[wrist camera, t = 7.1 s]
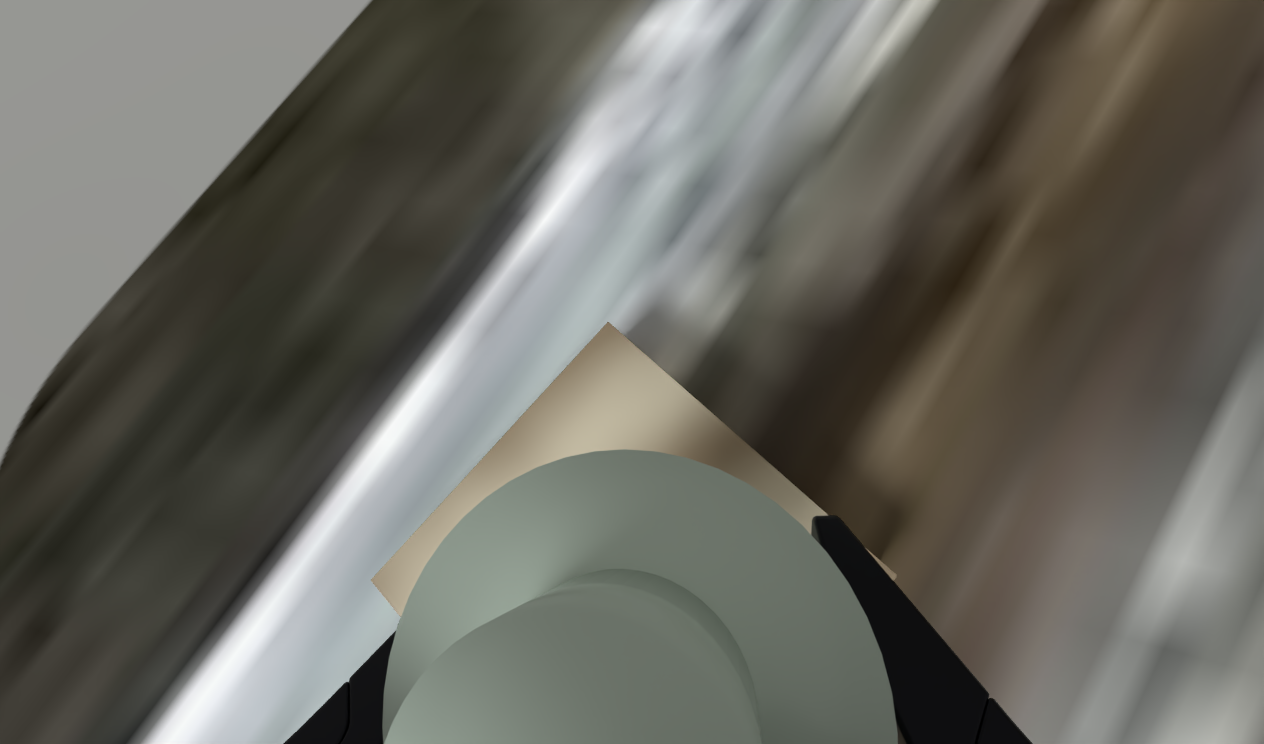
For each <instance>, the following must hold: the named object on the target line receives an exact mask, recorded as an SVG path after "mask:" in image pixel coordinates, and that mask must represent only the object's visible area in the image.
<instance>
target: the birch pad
mask: <svg viewBox="0 0 1264 744" xmlns="http://www.w3.org/2000/svg"><path fill="white" fill-rule="evenodd" d="M623 449H628V450H642V451H656V452H661V453H666V454H671V455H676V456H681V457H686V458H689V459H692V460H695V461H698V462H701V463H703V464H706V465H709V466H712V467H715V468H718V469H720V470H722V471H724V472H726V473H728V474H730V475H732V476H734V477H736V478H738V479H740V480H742V481H744V482H746V483H748V484H749V485H751V486H752V487H754V488H755V489H757V490H758V491H760V492H761V493H763V494H764V495H766V496H767V497H769V498H770V499H772V500H773V501H775V502H776V503H777V504H778V505H780V506H781V507H782V508H783V509H784V510H785V511H786V512H788V513H789V514H790V515H791V516H792V517H793V518H795V519H796V520H797V521H798V522H799V523H800V524H802V525H803V526H804V528H805V529H806V530H807V531H808V532H809V533H810V534H811V526H812V519H813V517H815V516H826V515H828V514H827V513H825V512H824V511H823V510H822V509H821V508H820V507H819V506H817V505H816V504H815V503H814V502H813V501H812V500H811V499H809V498H808V497H807V496H806V495H805V494H804V493H803V492H801V491H800V490H799V489H798V488H797V487H796V486H795V485H794V484H792V483H791V482H790V481H789V480H788V479H787V478H786V477H784V476H783V475H782V474H781V473H780V472H779V471H778V470H776V469H775V468H774V467H773V466H772V465H771V464H770V463H768V462H767V461H766V460H765V459H764V458H763V457H762V456H760V455H759V454H758V453H757V452H756V451H755V450H754V449H753V448H751V447H750V446H749V445H748V444H747V443H746V442H745V441H743V440H742V439H741V438H740V437H739V436H738V435H737V434H735V433H734V432H733V431H732V430H731V429H730V428H729V427H727V426H726V425H725V424H724V423H723V422H722V421H721V420H719V419H718V418H717V417H716V416H715V415H714V414H713V413H712V412H710V411H709V410H708V409H707V408H706V407H705V406H704V405H702V404H701V403H700V402H699V401H698V400H697V399H696V398H694V397H693V396H692V395H691V394H690V393H689V392H688V391H686V390H685V389H684V388H683V387H682V386H681V385H680V384H678V383H677V382H676V381H675V380H674V379H673V378H672V377H671V376H669V375H668V374H667V373H666V372H665V371H664V370H663V369H661V368H660V367H659V366H658V365H657V364H656V363H655V362H653V361H652V360H651V359H650V358H649V357H648V356H647V355H645V354H644V353H643V352H642V351H641V350H640V349H639V348H637V347H636V346H635V345H634V344H633V343H632V342H631V341H630V340H628V339H627V338H626V337H625V336H624V335H623V334H622V333H620V332H619V331H618V330H617V329H616V328H615V327H614V326H612V325H611V324H610V323H609V322H607V324H606V325H605V326H604V327H603V328H602V329H601V330H600V331H599V332H598V333H597V334H596V335H595V337H594V338H593V339H592V340H591V341H590V342H589V343H588V344H587V345H586V346H585V347H584V349H583V350H582V351H581V352H580V353H579V354H578V355H577V356H576V357H575V358H574V359H573V361H572V362H571V363H570V364H569V365H568V366H567V367H566V368H565V369H564V370H563V371H562V372H561V374H560V375H559V376H558V377H557V378H556V379H555V380H554V381H553V382H552V383H551V384H550V386H549V387H548V388H547V389H546V390H545V391H544V392H543V393H542V394H541V395H540V396H539V398H538V399H537V400H536V401H535V402H534V403H533V404H532V405H531V406H530V407H529V408H528V409H527V411H526V412H525V413H524V414H523V415H522V416H521V417H520V418H519V419H518V420H517V421H516V423H515V424H514V425H513V426H512V427H511V428H510V429H509V430H508V431H507V432H506V433H505V435H504V436H503V437H502V438H501V439H500V440H499V441H498V442H497V443H496V444H495V445H494V446H493V448H492V449H491V450H490V451H489V452H488V453H487V454H486V455H485V456H484V457H483V458H482V460H481V461H480V462H479V463H478V464H477V465H476V466H475V467H474V468H473V469H472V470H471V472H470V473H469V474H468V475H467V476H466V477H465V478H464V479H463V480H462V481H461V482H460V483H459V485H458V486H457V487H456V488H455V489H454V490H453V491H452V492H451V493H450V494H449V495H448V497H447V498H446V499H445V500H444V501H443V502H442V503H441V504H440V505H439V506H438V507H437V509H436V510H435V511H434V512H433V513H432V514H431V515H430V516H429V517H428V518H427V519H426V520H425V522H424V523H423V524H422V525H421V526H420V527H419V528H418V529H417V530H416V531H415V532H414V534H413V535H412V536H411V537H410V538H409V539H408V540H407V541H406V542H405V543H404V544H403V546H402V547H401V548H400V549H399V550H398V551H397V552H396V553H395V554H394V555H393V556H392V557H391V559H390V560H389V561H388V562H387V563H386V564H385V565H384V566H383V567H382V568H381V569H380V571H379V572H378V573H377V574H376V575H375V576H374V577H373V578H372V579H371V581H372V582H373V584H374V585H375V586H376V587H377V589H378V590H379V591H380V592H381V593H382V595H383V596H384V597H385V598H386V600H387V601H388V602H389V603H390V605H391V606H392V607H393V608H394V610H395V611H396V612H397V613H398V614H399V616H400V617H401V616H402V613H403V611H404V608H405V605H406V603H407V600H408V598H409V595H410V593H411V591H412V589H413V588H414V586H415V584H416V582H417V580H418V578H419V576H420V574H421V572H422V571H423V569H424V567H425V565H426V564H427V562H428V561H429V559H430V558H431V557H432V555H433V554H434V552H435V551H436V549H437V548H438V546H439V545H440V544H441V542H442V541H443V539H444V538H445V537H446V536H447V535H448V534H449V533H450V532H451V530H452V529H453V528H454V527H455V526H456V525H457V524H458V523H459V521H460V520H461V519H462V518H463V517H464V516H465V515H466V514H467V513H469V512H470V511H471V510H472V509H473V508H474V507H475V506H477V505H478V504H479V503H480V502H481V501H482V500H483V499H485V498H486V497H487V496H489V495H490V494H491V493H493V492H494V491H496V490H497V489H499V488H500V487H502V486H503V485H505V484H506V483H508V482H509V481H511V480H513V479H515V478H517V477H519V476H521V475H523V474H525V473H527V472H529V471H531V470H533V469H535V468H537V467H539V466H542V465H545V464H548V463H551V462H553V461H556V460H559V459H562V458H565V457H569V456H574V455H579V454H584V453H589V452H594V451H607V450H623ZM867 550H868V549H867ZM868 552H869V553H870V554H871V555H872V556H873V557H874V559H875V560H876V561H877V562H878V563H879V565H880V566H881V567H882V568H883V569H884V570H885V572H886V573H887V574H888V575H889V576H890V577H891V579H892V580H894V579H895V578H896V577H897V575H896V574H895V573H894V572H893V571H891V570H890V569H889V568H888V567H887V566H886V565H885V564H883V563H882V562H881V561H880V560H879V559H878V558H877V557H876V556H874V555H873V554H872V553H871V552H870V551H869V550H868Z"/></svg>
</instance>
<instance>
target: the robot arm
mask: <svg viewBox="0 0 1264 744" xmlns="http://www.w3.org/2000/svg"><path fill="white" fill-rule="evenodd" d="M811 535H812V536H813V538H814V539H815V540H816V541H817V542H818V543H819V544H820V545H821V546H822V547H823V549H824V550H825V551H826V552H827V553H828V555H829V556H830V557H831V559H832V560H833V562H834V563H835V564H836V566H837V567H838V569H839V570H840V571H841V573H842V574H843V576H844V577H845V579H846V580H847V581H848V583H849V585H850V586H851V588H852V590H853V592H854V594H855V596H856V597H857V599H858V601H859V603H860V605H861V607H862V609H863V610H864V612H865V614H866V616H867V618H868V621H869V623H870V626H871V628H872V631H873V633H874V636H875V638H876V641H877V643H878V646H879V648H880V651H881V653H882V657H883V661H884V664H885V668H886V672H887V676H888V680H889V683H890V687H891V691H892V696H893V704H894V711H895V718H896V725H897V733H898V744H1032V742H1031V741H1030V740H1029V739H1028V738H1027V737H1026V736H1025V735H1024V733H1023V732H1022V731H1021V730H1020V729H1019V728H1018V727H1017V726H1016V724H1015V723H1014V722H1013V721H1012V720H1011V719H1010V717H1009V716H1008V715H1007V714H1006V713H1005V711H1004V710H1003V709H1002V708H1001V707H1000V706H999V704H998V703H997V702H996V701H995V700H994V699H993V698H989V693H988V692H987V691H986V689H985V688H984V687H983V686H982V685H981V683H980V682H979V681H978V680H977V679H976V678H975V676H974V675H973V674H972V673H971V672H970V671H969V669H968V668H967V667H966V666H965V665H964V663H963V662H962V661H961V660H960V659H959V658H958V656H957V655H956V654H955V653H954V652H953V650H952V649H951V648H950V647H949V646H948V645H947V643H946V642H945V641H944V640H943V639H942V638H941V636H940V635H939V634H938V633H937V632H936V630H935V629H934V628H933V627H932V626H931V625H930V623H929V622H928V621H927V620H926V619H925V618H924V616H923V615H922V614H921V613H920V612H919V610H918V609H917V608H916V607H915V606H914V605H913V603H912V602H911V601H910V600H909V599H908V598H907V596H906V595H905V594H904V593H903V592H902V590H901V589H900V588H899V587H898V586H897V585H896V583H895V582H894V581H893V580H892V579H891V577H890V576H889V575H888V574H887V573H886V572H885V570H884V569H883V568H882V567H881V566H880V565H879V563H878V562H877V561H876V560H875V559H874V557H873V556H872V555H871V554H870V553H869V552H868V550H867V549H866V548H865V547H864V546H863V545H862V543H861V542H860V541H859V540H858V539H857V537H856V536H855V535H854V534H853V533H852V532H851V530H850V529H849V528H848V527H847V526H846V525H845V523H844V522H843V521H842V520H841V519H840V518H839V517H838V516H835V515H826V516H815V517H813V519H812V526H811ZM395 634H396V631H395V632H394V633H393V634H392V635H391V636H390V637H389V638H388V639H387V640H386V641H385V642H384V643H383V644H382V645H381V646H380V647H379V649H378V650H377V651H376V652H375V653H374V654H373V655H372V656H371V657H370V658H369V659H368V660H367V661H366V662H365V663H364V664H363V665H362V666H361V667H360V668H359V669H358V670H357V671H356V672H355V673H354V674H353V675H352V676H351V677H350V680H349V682H346V683H344V684H343V685H342V686H341V687H340V688H339V689H338V690H337V692H336V693H335V694H334V695H333V696H332V697H331V698H330V699H329V700H328V701H327V702H326V703H325V704H324V705H323V706H322V707H321V708H320V709H319V710H318V711H317V712H316V713H315V714H314V715H313V716H312V717H311V718H310V719H309V720H308V721H307V722H306V723H305V724H304V725H303V726H302V727H301V728H300V729H299V730H298V731H297V732H295V733H294V734H293V735H292V736H291V737H290V738H289V739H288V740H287V741H286V742H285V743H284V744H383V729H382V723H383V700H384V688H385V681H386V674H387V668H388V661H389V656H390V652H391V649H392V645H393V641H394V637H395ZM988 698H989V699H988Z"/></svg>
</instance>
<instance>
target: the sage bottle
mask: <svg viewBox="0 0 1264 744" xmlns="http://www.w3.org/2000/svg"><path fill="white" fill-rule="evenodd" d="M382 729H383V744H898V733H897V725H896V718H895V711H894V704H893V696H892V691H891V687H890V683H889V680H888V676H887V672H886V668H885V664H884V661H883V657H882V653H881V651H880V648H879V646H878V643H877V641H876V638H875V636H874V633H873V631H872V628H871V626H870V623H869V621H868V618H867V616H866V614H865V612H864V610H863V609H862V607H861V605H860V603H859V601H858V599H857V597H856V596H855V594H854V592H853V590H852V588H851V586H850V585H849V583H848V581H847V580H846V579H845V577H844V576H843V574H842V573H841V571H840V570H839V569H838V567H837V566H836V564H835V563H834V562H833V560H832V559H831V557H830V556H829V555H828V553H827V552H826V551H825V550H824V549H823V547H822V546H821V545H820V544H819V543H818V542H817V541H816V540H815V539H814V538H813V536H812V535H811V534H810V533H809V532H808V531H807V530H806V529H805V528H804V526H803V525H802V524H800V523H799V522H798V521H797V520H796V519H795V518H793V517H792V516H791V515H790V514H789V513H788V512H786V511H785V510H784V509H783V508H782V507H781V506H780V505H778V504H777V503H776V502H775V501H773V500H772V499H770V498H769V497H767V496H766V495H764V494H763V493H761V492H760V491H758V490H757V489H755V488H754V487H752V486H751V485H749V484H748V483H746V482H744V481H742V480H740V479H738V478H736V477H734V476H732V475H730V474H728V473H726V472H724V471H722V470H720V469H718V468H715V467H712V466H709V465H706V464H703V463H701V462H698V461H695V460H692V459H689V458H686V457H681V456H676V455H671V454H666V453H661V452H656V451H642V450H628V449H623V450H607V451H594V452H589V453H584V454H579V455H574V456H569V457H565V458H562V459H559V460H556V461H553V462H551V463H548V464H545V465H542V466H539V467H537V468H535V469H533V470H531V471H529V472H527V473H525V474H523V475H521V476H519V477H517V478H515V479H513V480H511V481H509V482H508V483H506V484H505V485H503V486H502V487H500V488H499V489H497V490H496V491H494V492H493V493H491V494H490V495H489V496H487V497H486V498H485V499H483V500H482V501H481V502H480V503H479V504H478V505H477V506H475V507H474V508H473V509H472V510H471V511H470V512H469V513H467V514H466V515H465V516H464V517H463V518H462V519H461V520H460V521H459V523H458V524H457V525H456V526H455V527H454V528H453V529H452V530H451V532H450V533H449V534H448V535H447V536H446V537H445V538H444V539H443V541H442V542H441V544H440V545H439V546H438V548H437V549H436V551H435V552H434V554H433V555H432V557H431V558H430V559H429V561H428V562H427V564H426V565H425V567H424V569H423V571H422V572H421V574H420V576H419V578H418V580H417V582H416V584H415V586H414V588H413V589H412V591H411V593H410V595H409V598H408V600H407V603H406V605H405V608H404V611H403V613H402V616H401V618H400V621H399V623H398V626H397V630H396V634H395V637H394V641H393V645H392V649H391V652H390V656H389V661H388V668H387V674H386V681H385V688H384V700H383V723H382Z"/></svg>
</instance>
